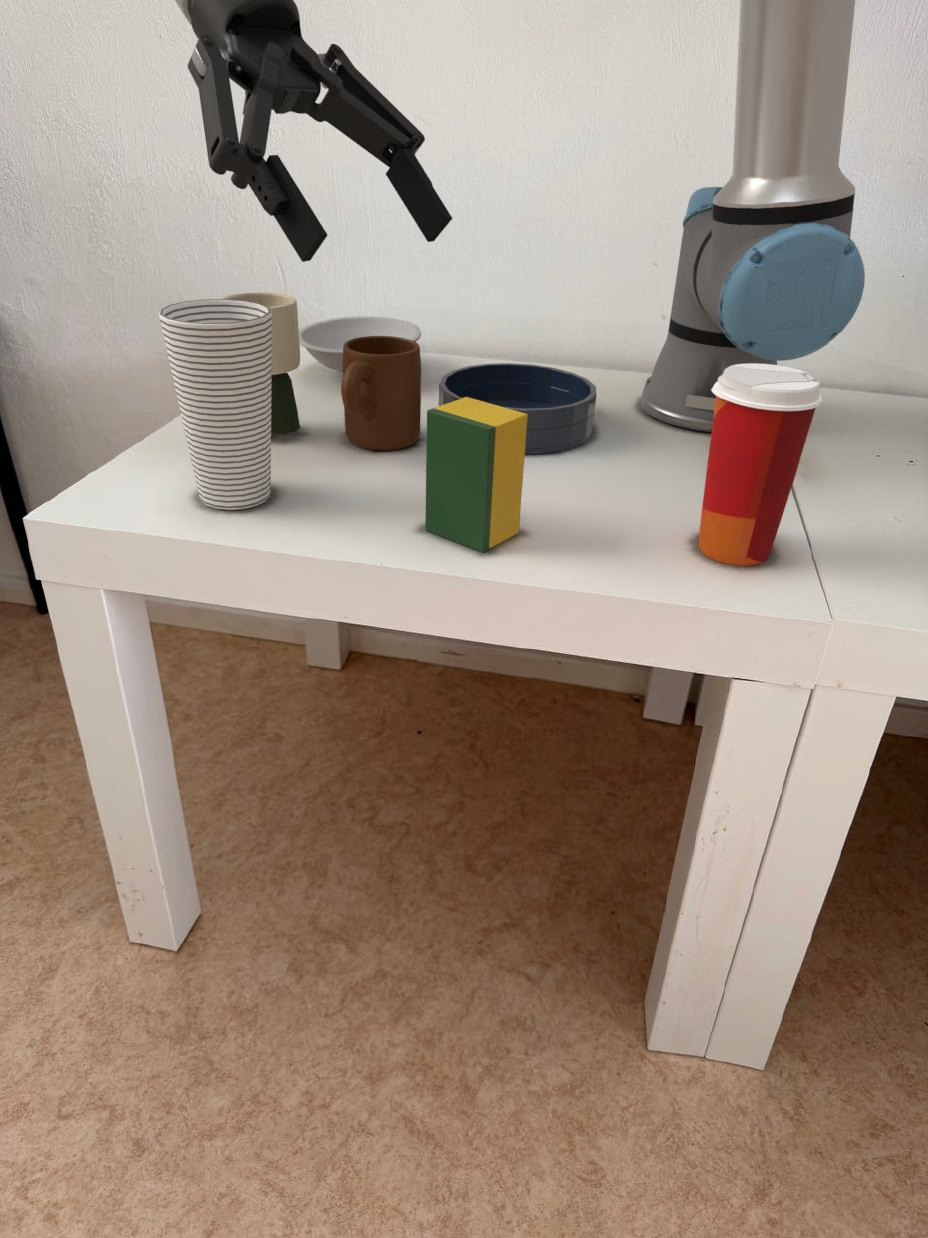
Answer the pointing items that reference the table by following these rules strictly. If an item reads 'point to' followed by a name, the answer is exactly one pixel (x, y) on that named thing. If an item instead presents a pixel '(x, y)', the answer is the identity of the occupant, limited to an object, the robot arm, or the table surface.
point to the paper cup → (753, 458)
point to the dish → (350, 335)
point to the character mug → (281, 357)
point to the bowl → (530, 400)
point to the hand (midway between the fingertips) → (382, 239)
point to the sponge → (474, 472)
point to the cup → (224, 395)
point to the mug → (381, 392)
